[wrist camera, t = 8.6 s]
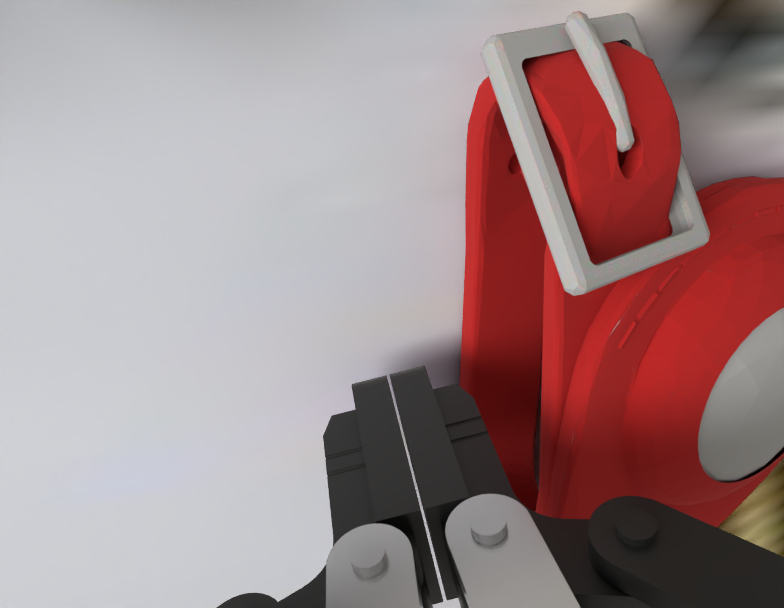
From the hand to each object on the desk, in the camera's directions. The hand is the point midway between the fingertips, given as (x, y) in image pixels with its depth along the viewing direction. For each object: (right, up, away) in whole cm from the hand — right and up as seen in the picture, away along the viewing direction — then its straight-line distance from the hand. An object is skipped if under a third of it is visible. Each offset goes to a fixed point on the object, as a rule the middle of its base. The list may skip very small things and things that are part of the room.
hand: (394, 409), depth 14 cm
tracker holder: (+5, +3, +1) cm, 6 cm away
